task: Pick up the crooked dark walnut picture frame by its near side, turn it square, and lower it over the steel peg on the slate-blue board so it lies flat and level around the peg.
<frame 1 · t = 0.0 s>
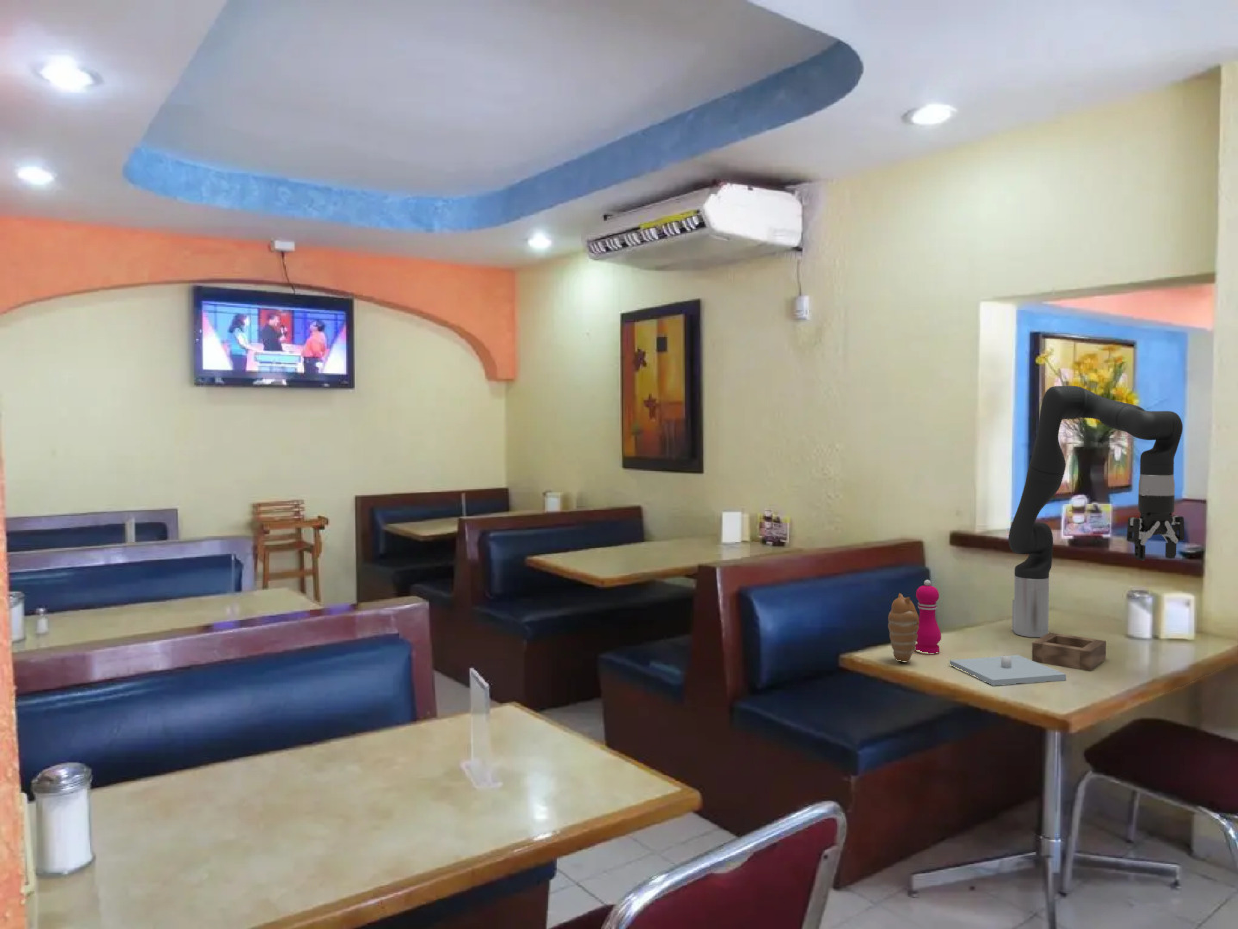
hand: (1155, 559, 212), 29 cm above the table, tool pointing down, fingers open, 8 cm apart
cat ice cream: (902, 663, 230), on the table
peg board: (1006, 672, 219), on the table
pepper mill: (927, 652, 240), on the table
frame: (1068, 660, 229), on the table
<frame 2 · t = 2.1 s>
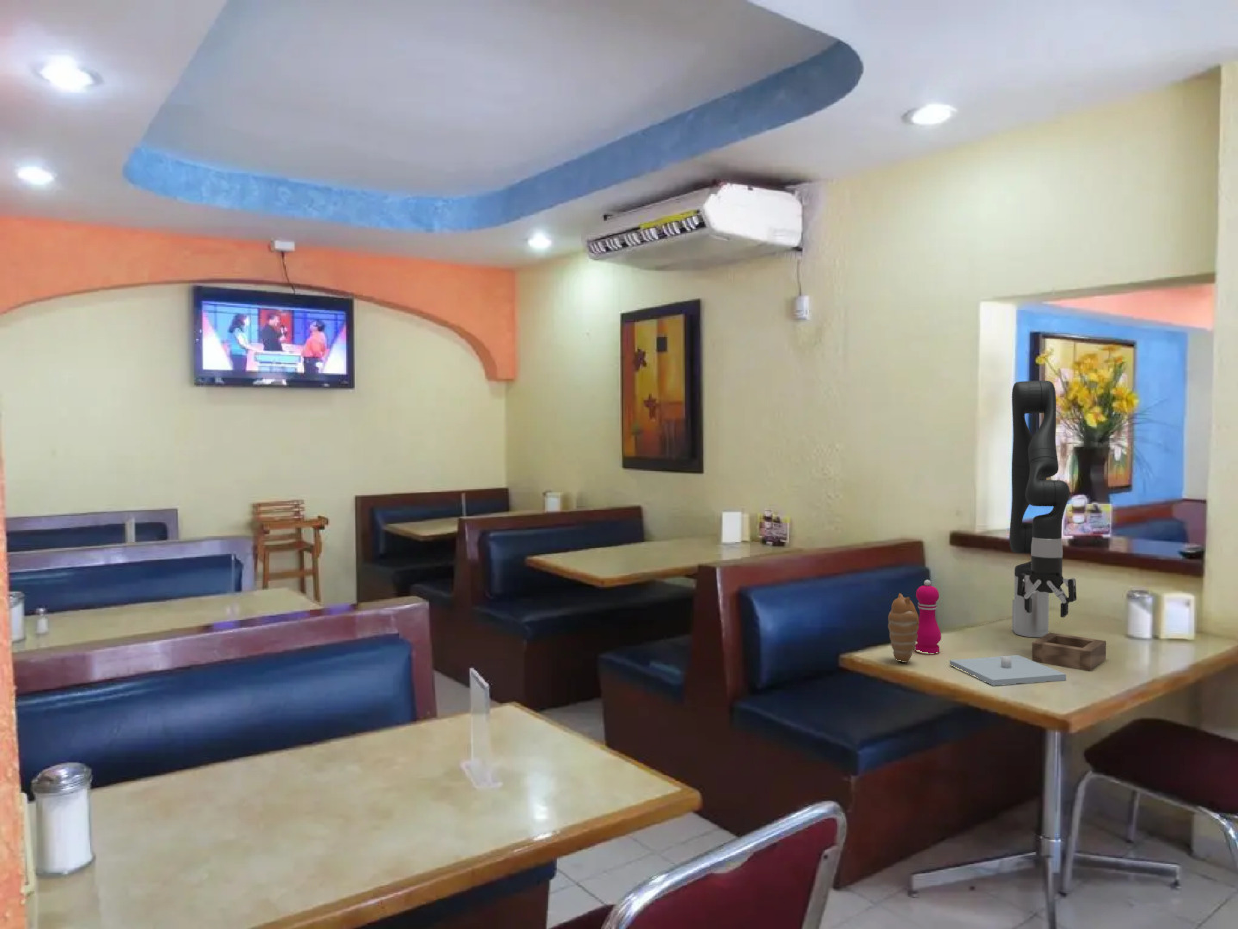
hand: (1046, 614, 233), 11 cm above the table, tool pointing down, fingers open, 8 cm apart
nothing on the table moved.
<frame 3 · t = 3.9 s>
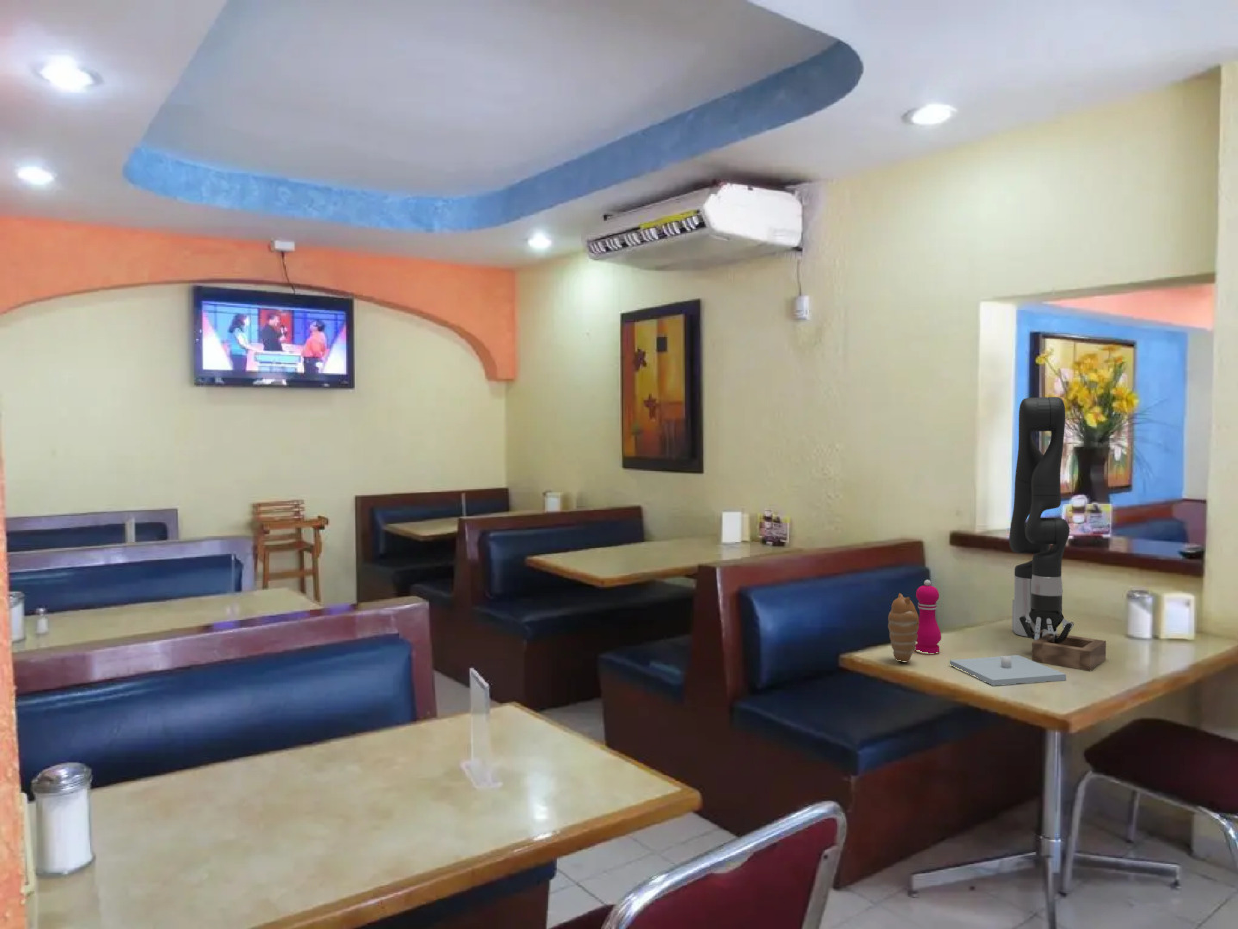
hand: (1045, 655, 233), 0 cm above the table, tool pointing down, fingers closed on frame, 2 cm apart
frame: (1068, 660, 229), on the table, touching gripper
everything else where it was.
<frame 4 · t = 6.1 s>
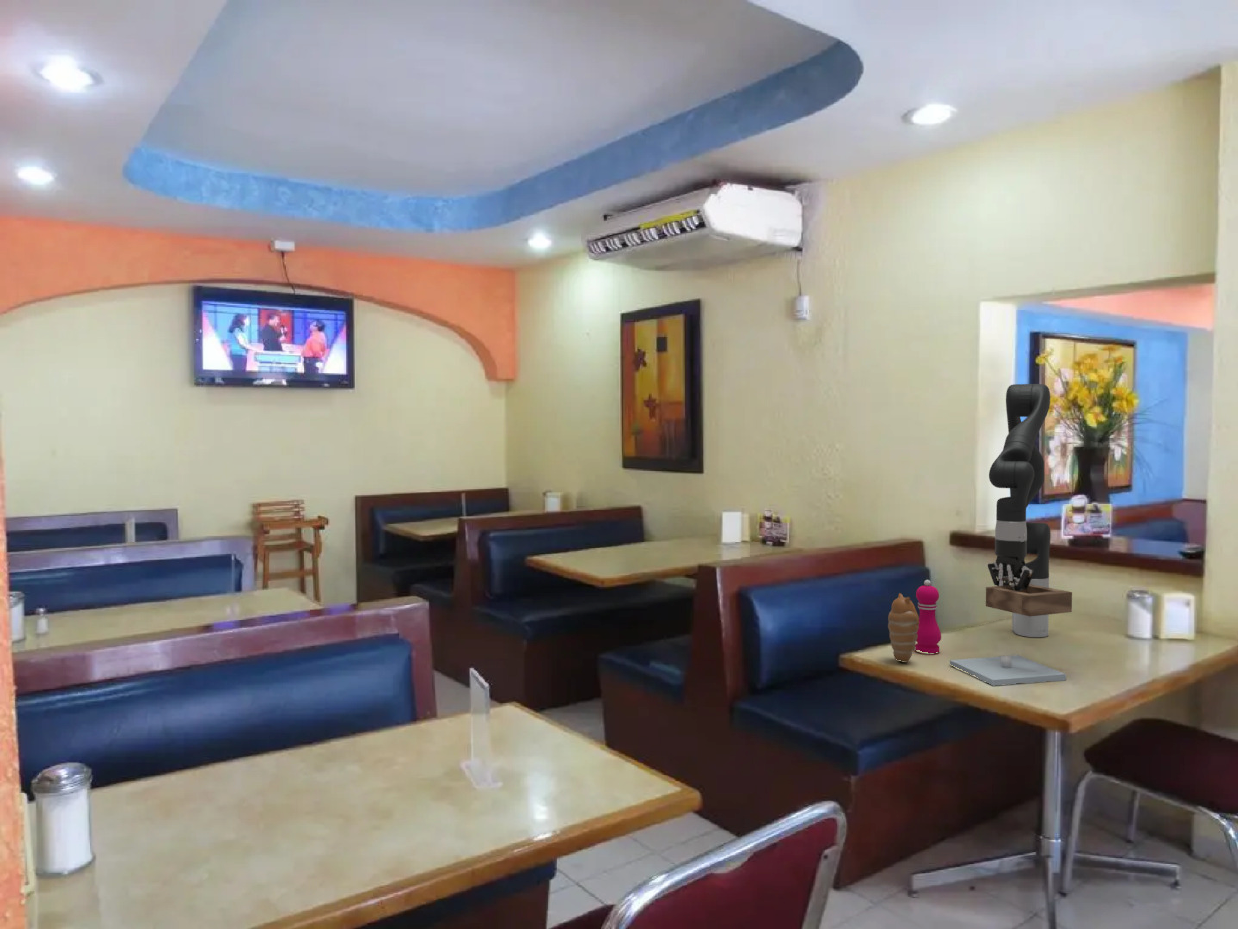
hand: (1010, 604, 226), 16 cm above the table, tool pointing down, fingers closed on frame, 2 cm apart
frame: (1028, 609, 221), point 16 cm above the table, touching gripper
everything else where it was.
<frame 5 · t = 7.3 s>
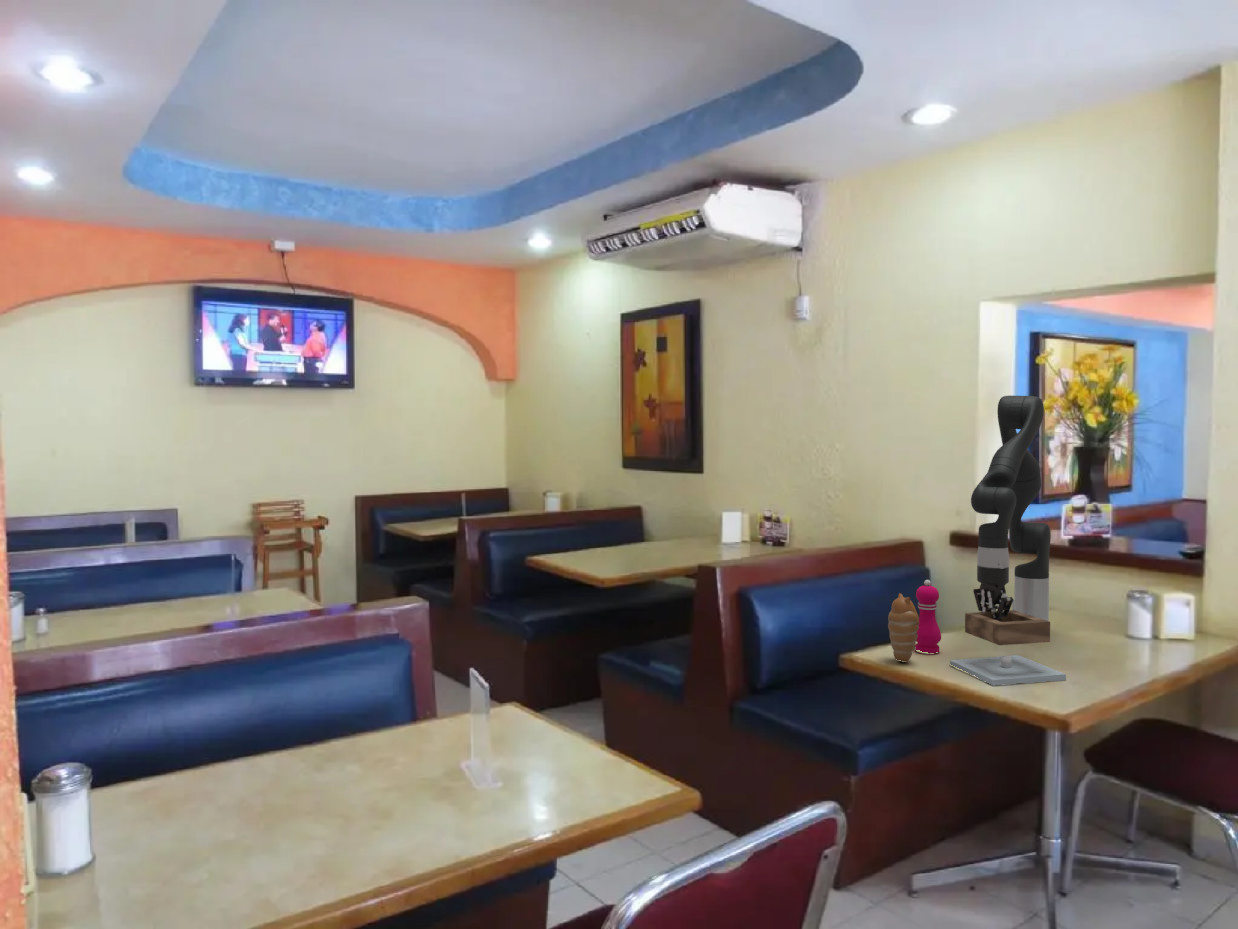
hand: (992, 630, 224), 9 cm above the table, tool pointing down, fingers closed on frame, 2 cm apart
frame: (1006, 637, 218), point 9 cm above the table, touching gripper
everything else where it was.
when the fingers open (4 cm above the table, at t = 8.4 s): frame drops 2 cm, resting on peg board.
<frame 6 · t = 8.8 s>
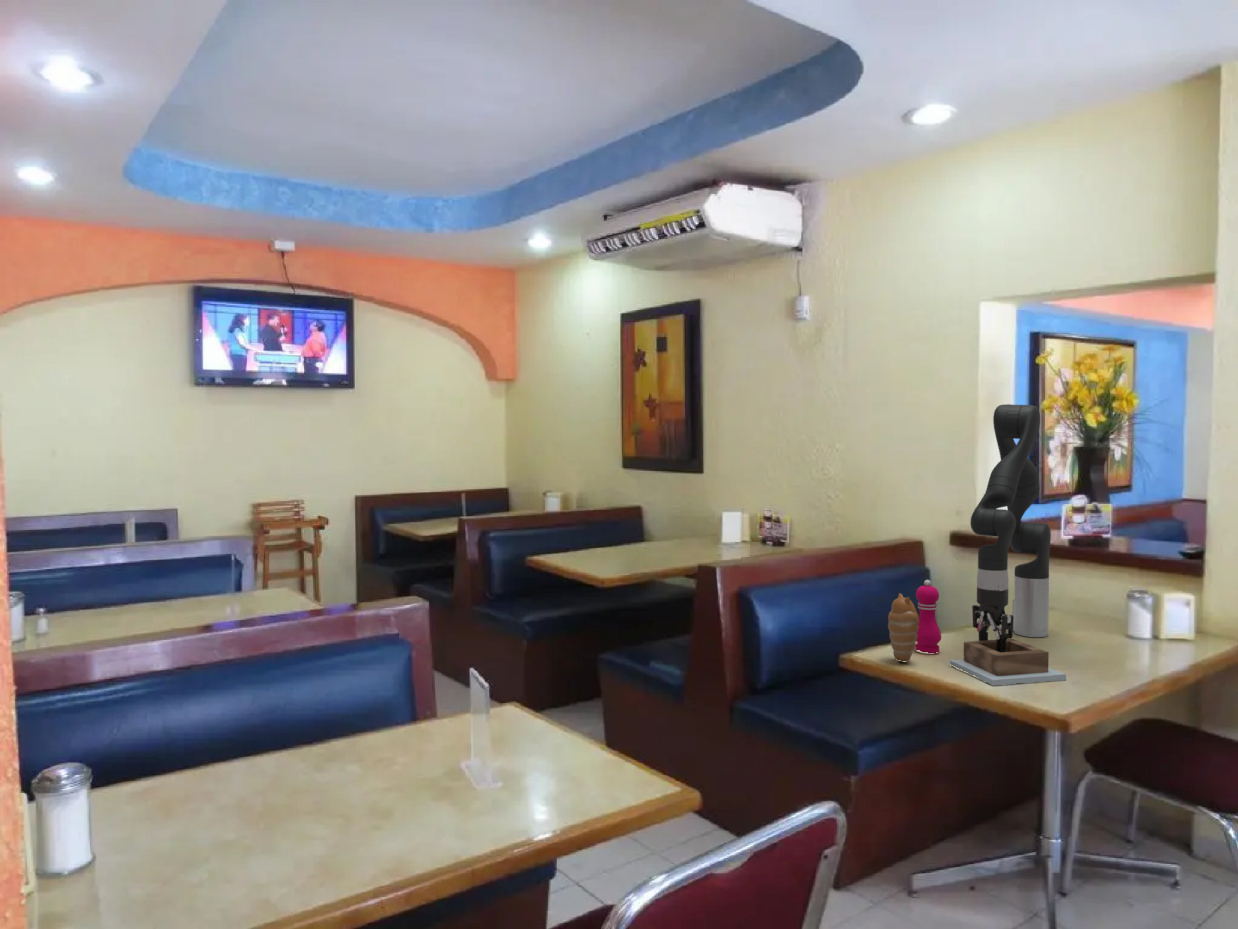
hand: (992, 649, 224), 4 cm above the table, tool pointing down, fingers open, 6 cm apart
frame: (1005, 666, 219), point 1 cm above the table, touching peg board
everything else where it was.
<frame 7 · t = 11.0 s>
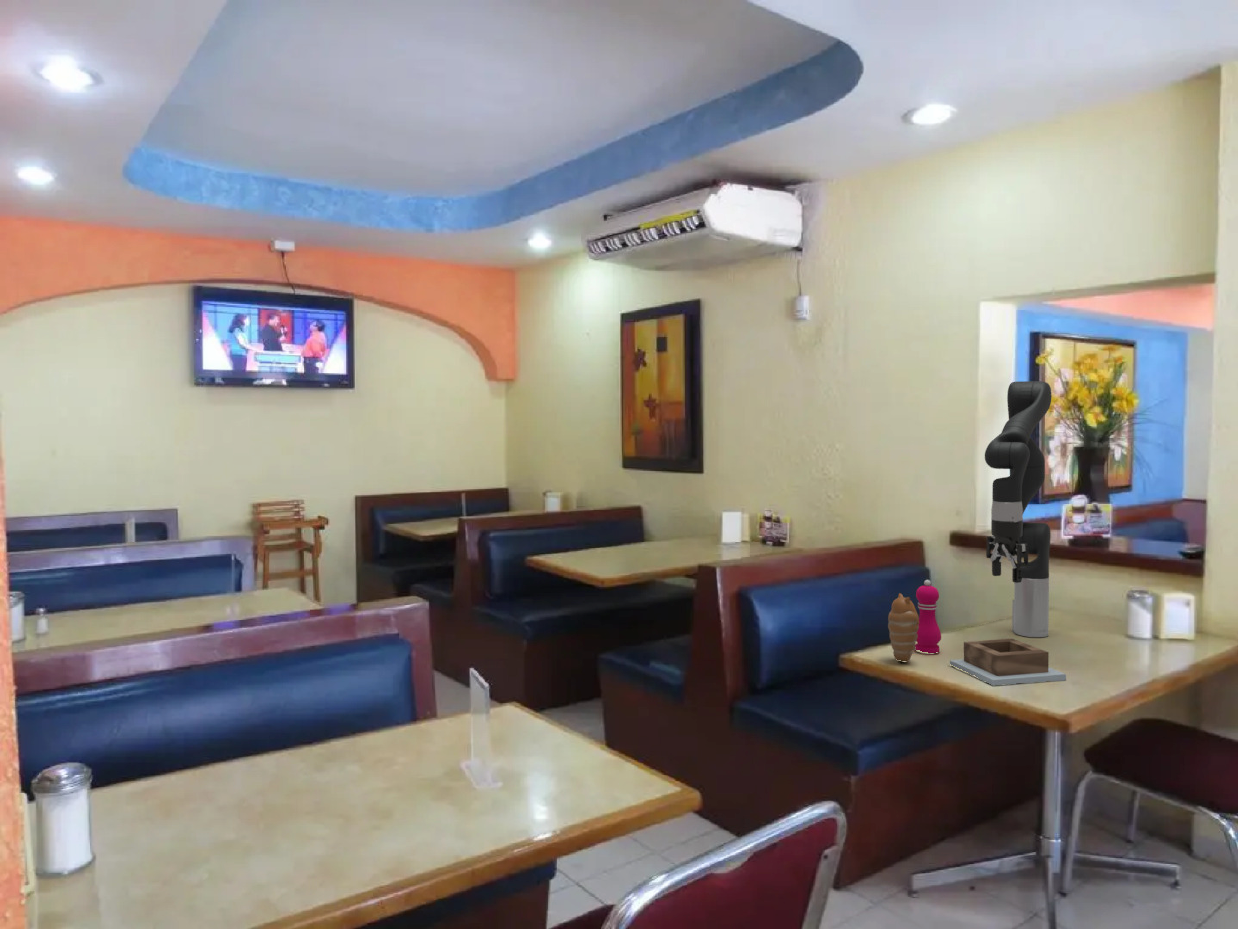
hand: (1006, 579, 229), 22 cm above the table, tool pointing down, fingers open, 8 cm apart
nothing on the table moved.
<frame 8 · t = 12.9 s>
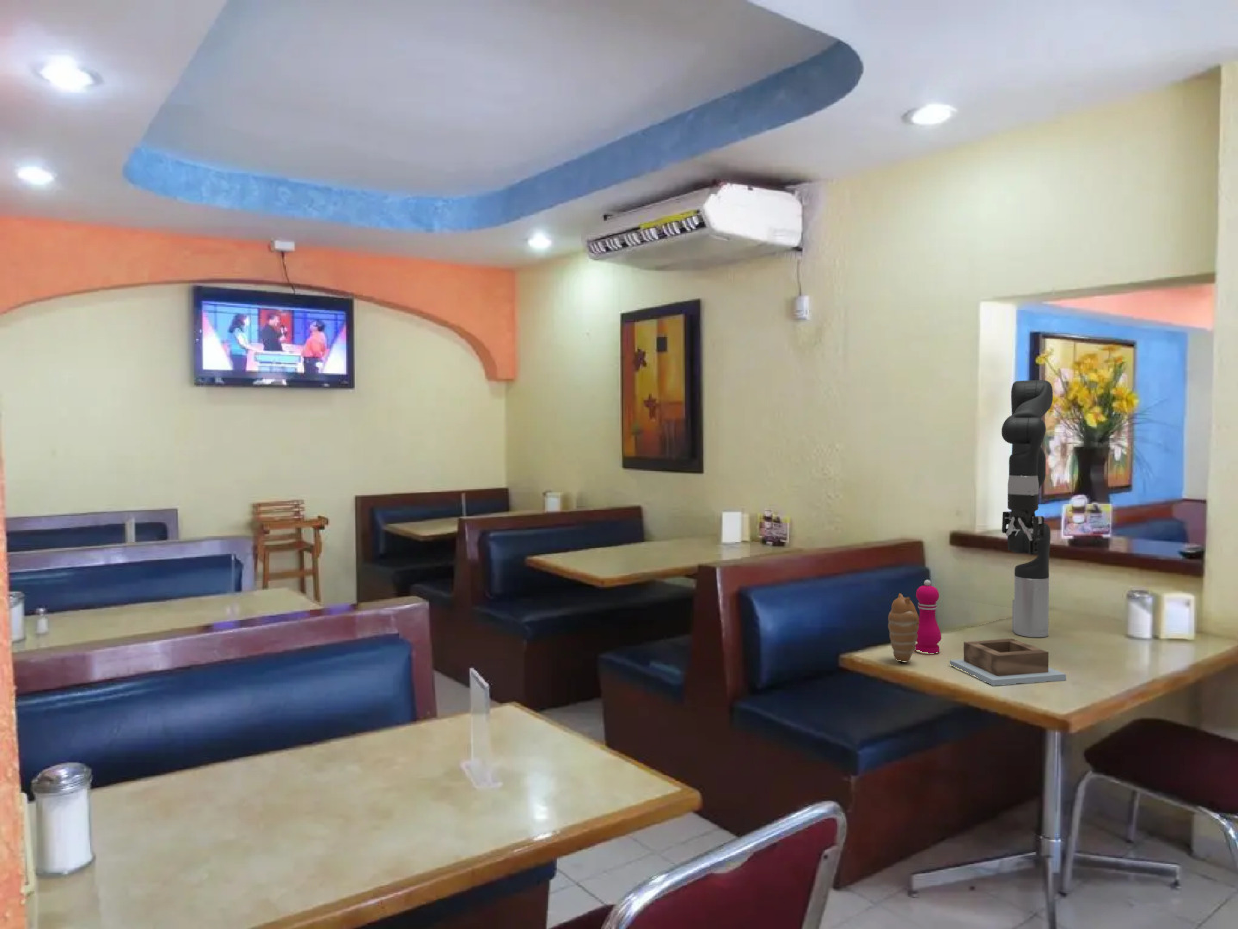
hand: (1022, 552, 233), 28 cm above the table, tool pointing down, fingers open, 8 cm apart
nothing on the table moved.
at the end: frame 0.5 cm off-centre on the peg board, point 1.5 cm above the peg board's base; frame tilted 0°; the gripper is holding nothing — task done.
